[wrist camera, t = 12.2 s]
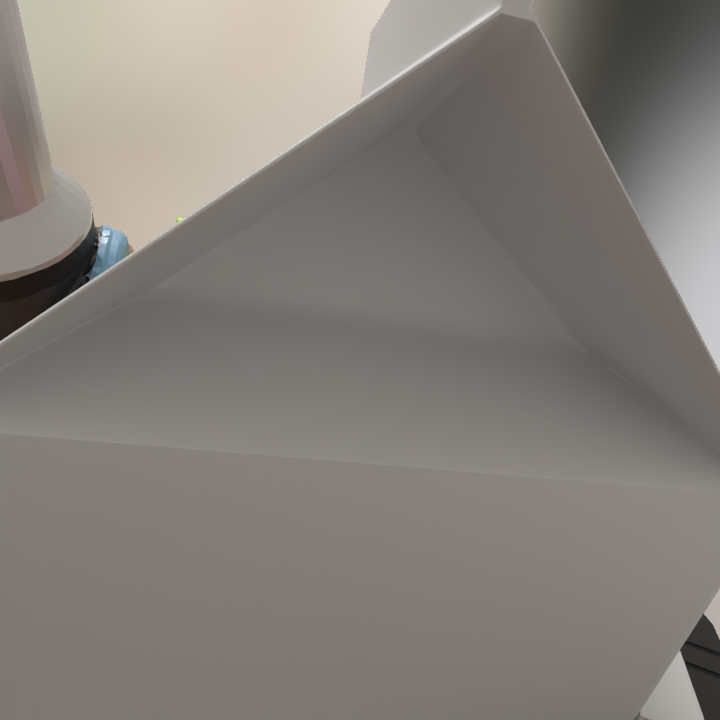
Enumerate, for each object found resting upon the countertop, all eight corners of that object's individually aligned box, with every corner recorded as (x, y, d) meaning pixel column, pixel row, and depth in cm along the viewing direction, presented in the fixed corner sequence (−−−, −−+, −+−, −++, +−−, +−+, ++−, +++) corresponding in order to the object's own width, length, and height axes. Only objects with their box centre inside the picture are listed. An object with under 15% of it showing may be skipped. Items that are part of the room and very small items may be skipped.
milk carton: (52, 1108, 9) (-413, -655, 2) (156, 704, 15) (166, -14, 8) (417, 1061, 10) (1162, -67, 3) (374, 704, 17) (560, 77, 9)
